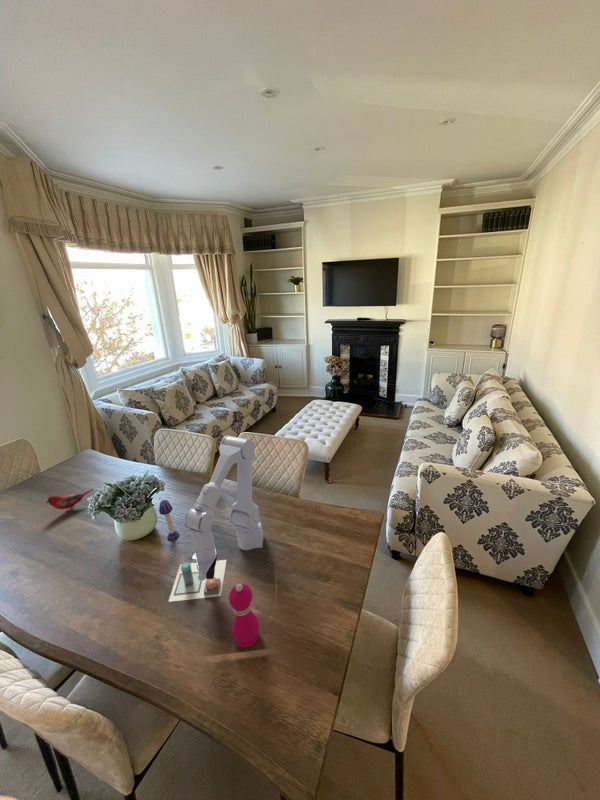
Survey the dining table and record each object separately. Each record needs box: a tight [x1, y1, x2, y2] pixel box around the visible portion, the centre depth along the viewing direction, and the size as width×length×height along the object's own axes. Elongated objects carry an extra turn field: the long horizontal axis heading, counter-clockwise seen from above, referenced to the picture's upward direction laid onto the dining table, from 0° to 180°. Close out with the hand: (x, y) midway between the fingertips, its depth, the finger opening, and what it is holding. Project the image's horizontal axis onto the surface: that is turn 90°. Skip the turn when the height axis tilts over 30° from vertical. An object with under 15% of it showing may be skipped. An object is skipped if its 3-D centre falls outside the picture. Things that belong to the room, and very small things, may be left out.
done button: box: [205, 577, 218, 590], centre depth 103 cm, size 4×4×3 cm
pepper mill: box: [228, 583, 260, 648], centre depth 86 cm, size 7×7×20 cm
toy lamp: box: [158, 499, 180, 541], centre depth 124 cm, size 5×5×17 cm
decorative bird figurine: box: [45, 488, 94, 513], centre depth 145 cm, size 3×18×10 cm, turn 131°
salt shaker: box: [181, 561, 194, 587], centre depth 105 cm, size 3×3×7 cm
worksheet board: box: [168, 559, 227, 603], centre depth 107 cm, size 16×14×2 cm
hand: (210, 577), depth 102 cm, fingers closed
